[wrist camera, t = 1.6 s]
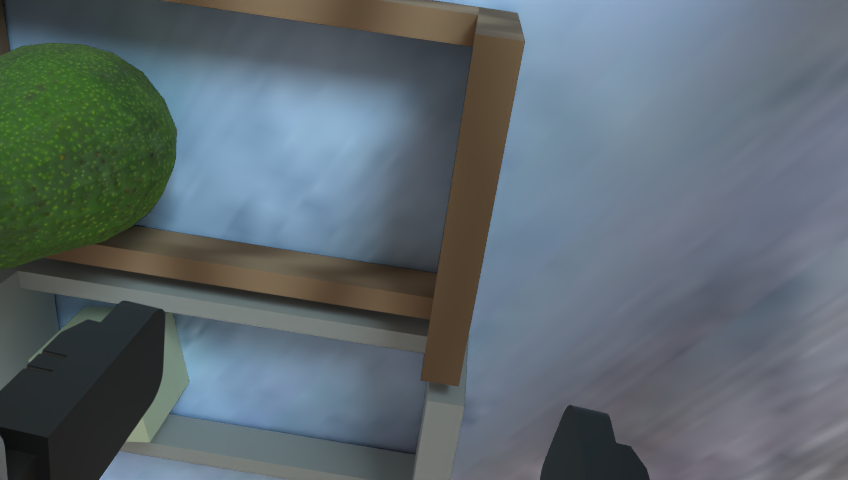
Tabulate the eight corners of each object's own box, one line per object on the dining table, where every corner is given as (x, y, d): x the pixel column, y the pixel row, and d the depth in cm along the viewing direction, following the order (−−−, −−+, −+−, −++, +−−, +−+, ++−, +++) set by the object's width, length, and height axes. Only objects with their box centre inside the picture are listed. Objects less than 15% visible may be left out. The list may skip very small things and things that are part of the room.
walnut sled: (517, 12, 27) (524, 41, 21) (464, 298, 33) (458, 386, 27) (-36, -69, 28) (-188, -65, 22) (14, 227, 34) (-93, 296, 28)
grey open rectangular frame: (469, 316, 34) (464, 406, 28) (440, 471, 39) (430, 578, 33) (25, 245, 35) (-79, 317, 28) (51, 407, 39) (-32, 499, 33)
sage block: (171, 306, 36) (126, 362, 31) (190, 380, 38) (149, 442, 33) (85, 305, 36) (28, 360, 32) (108, 378, 38) (58, 439, 34)
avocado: (72, 191, 33) (-129, 322, 22) (24, 29, 30) (-240, 92, 19) (225, 190, 32) (93, 326, 22) (194, 24, 29) (18, 87, 18)
